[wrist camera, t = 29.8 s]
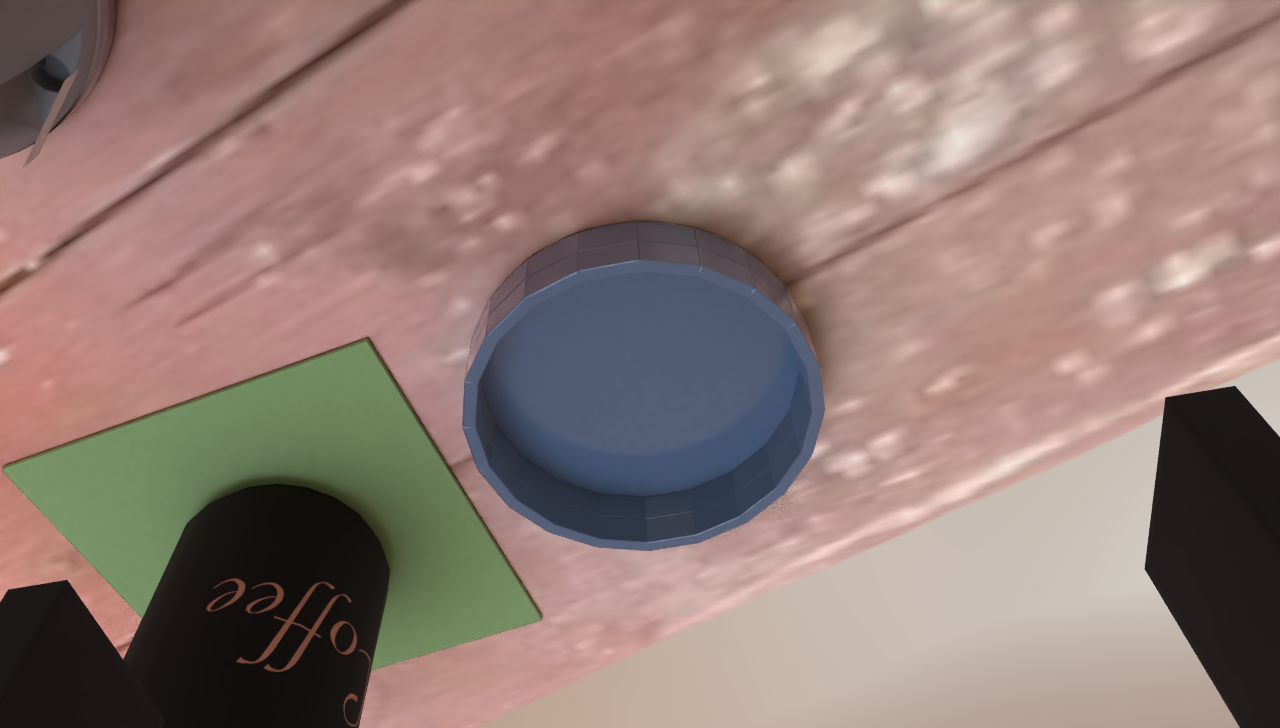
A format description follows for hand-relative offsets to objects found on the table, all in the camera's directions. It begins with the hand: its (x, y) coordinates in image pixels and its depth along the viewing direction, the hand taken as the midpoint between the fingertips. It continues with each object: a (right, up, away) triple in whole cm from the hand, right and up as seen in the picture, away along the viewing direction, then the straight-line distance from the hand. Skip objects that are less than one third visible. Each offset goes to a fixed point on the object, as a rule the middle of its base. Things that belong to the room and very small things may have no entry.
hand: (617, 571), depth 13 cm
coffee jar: (-18, -7, +42) cm, 47 cm away
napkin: (-18, -7, +42) cm, 47 cm away
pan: (0, +2, +37) cm, 37 cm away
